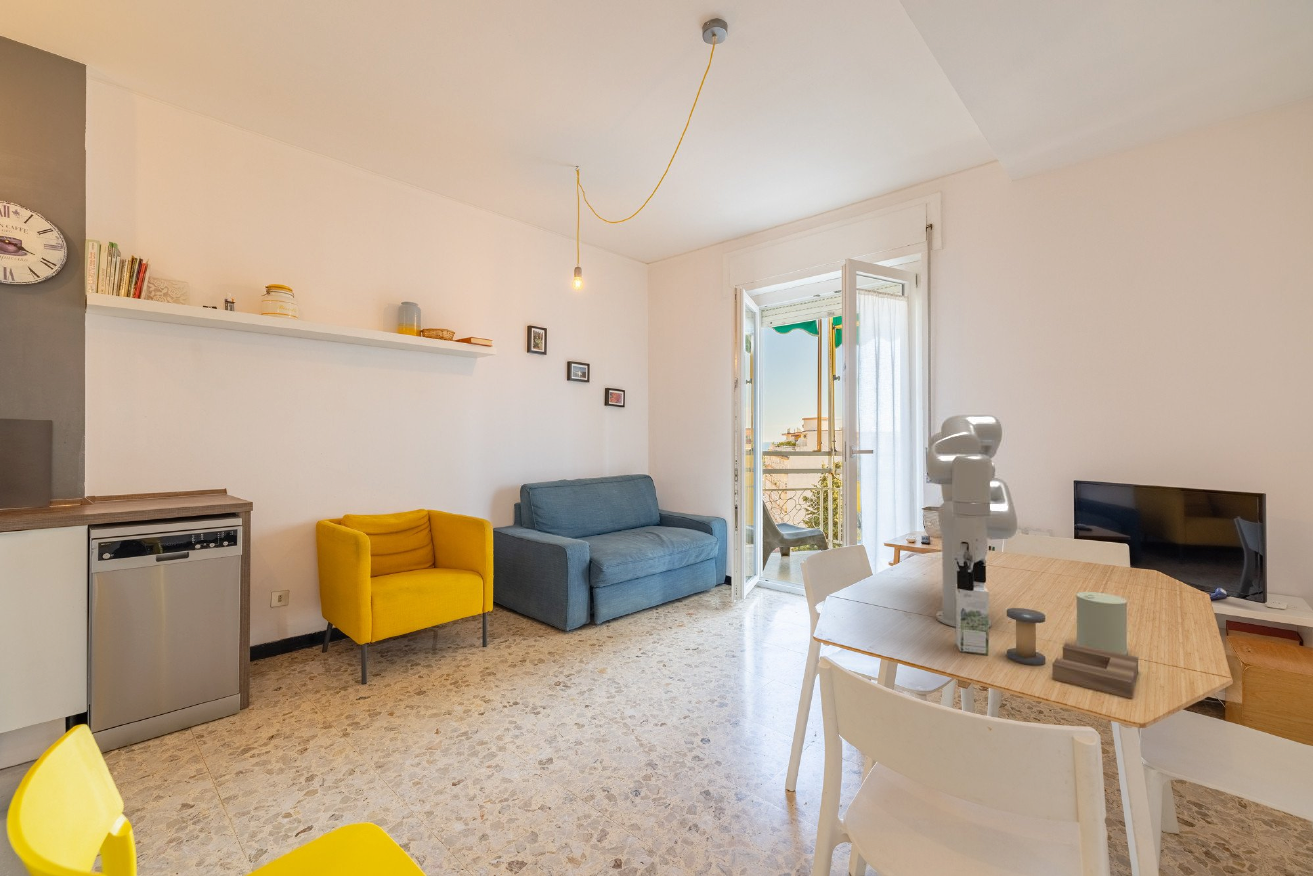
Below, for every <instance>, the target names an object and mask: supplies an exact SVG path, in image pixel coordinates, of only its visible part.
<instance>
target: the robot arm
mask: <svg viewBox="0 0 1313 876" xmlns="http://www.w3.org/2000/svg"><path fill="white" fill-rule="evenodd" d="M1002 437H1003V428H1002V424H1001V422H1000V419H998V418H997V417H996V416H994V415H991V414H968V415H967V414H963V415H953V416H951V417H950V416H949V417H948V418H946V419H945V420H944V421H943V423H942V425H941V427H940V432H937V433H935V434H933V435H932V436H931V438H930V439H929V442H928V451H927V453H926V454H927V455H926V470H927V476H928V479H929V480H930V481H931V482H932V483H933V484H935V485H940V487H941V497H942V500H943V501H942V502H943V503H942V504H941V505H940V506H939V507H938V512H937V516H938V523H939V529H940V531H939V532H940V538H941V551H942V552H941V559H942V560H941V561H942V564H941V565H942V572H941V573H942V577H941V578H942V610H939V611H937V612H936V613H935V617H936V620H937V621H939V622H940V623H942V624H944V625H948V626H950V627H953V628H956V583H957V588H958V589H962V590H968V591H973V590H974V584H980V585H984V586H985V583H986V582H987V560H986V557H987V555H988V539H993V540H1007V539H1011V538H1013V537H1014V536H1015V534H1016V533H1017V530H1018V519H1017V518H1018V517H1017V513H1016V510H1015V506H1014V503H1013V499H1012V494H1011V492H1010V488H1009V486H1008V484H1007V482H1006V481H1004V480H1003V479H1001V478H996V467H995V465H996V464H995V462H994V460H992V459H993V458H994V457H995V456H996V454H997V452H998V449H999V447H1000V444H1001V442H1002V439H1003V438H1002ZM991 626H992V620H991V618H989V628H990V627H991Z"/></svg>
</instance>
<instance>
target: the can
mask: <svg viewBox="0 0 1313 876" xmlns="http://www.w3.org/2000/svg"><path fill="white" fill-rule="evenodd" d="M1075 596H1076V599H1075V600H1076V641H1075V644H1077V645H1082V646H1087V647H1092V648H1097V649H1102V650H1107V651H1111V652H1116V653H1121V654H1126V655H1128V652H1129V651H1128V643H1127V642H1128V639H1127V637H1128V636H1127V635H1128V634H1127V633H1128V632H1127V631H1128V629H1127V627H1128V626H1127V624H1128V623H1127V621H1128V620H1127V619H1128V618H1127V617H1128V615H1127V614H1128V613H1127V612H1128V609H1127V607H1128V600H1127V599H1126V598H1123V597H1121V596H1118V595H1115V594H1109V593H1103V592H1095V591H1080V592H1077V593H1076V594H1075Z"/></svg>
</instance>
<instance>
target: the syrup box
mask: <svg viewBox="0 0 1313 876" xmlns="http://www.w3.org/2000/svg"><path fill="white" fill-rule="evenodd" d="M989 614H990V592H989V590H988V589H987V588H986V586H985V584H984V585H980V584H974V590H973V591H968V590H962V589H958V588H957V583H956V627H955V644H956V646H957V648H958V649H959V651H960V653H966V654H967V653H969V654H977V655H987V656H988V655H989V651H990V650H989V648H990V647H989V645H990V644H989V643H990V642H989V640H990V639H989V638H990V634H989V632H990V631H989V628H990V627H989V619H990V615H989Z"/></svg>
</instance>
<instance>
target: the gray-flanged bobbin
mask: <svg viewBox="0 0 1313 876" xmlns="http://www.w3.org/2000/svg"><path fill="white" fill-rule="evenodd" d="M1006 617H1007V618H1009V619H1011V620H1015V647H1014V648H1013V647H1012V648H1008V649H1007V650H1006V657H1007V658H1008V660H1011V661H1013V662H1015V663H1017V664H1018V663H1019V664H1022V665H1026V666H1035V667H1036V666H1038V667H1039V666H1044V665H1045V664H1046V662H1047V661H1046V656H1045V655H1044V654H1043V653H1041V652H1037V647H1036V646H1037V642H1036V641H1037V638H1036V637H1037V636H1036V635H1037V634H1036V632H1037V626H1036V625H1037V624H1040V623H1041V624H1043V623H1045V622H1046V614H1045V613H1042V612H1041V611H1037V610H1035V609H1029V608H1023V607H1022V608H1021V607H1010V608H1007V609H1006Z"/></svg>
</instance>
